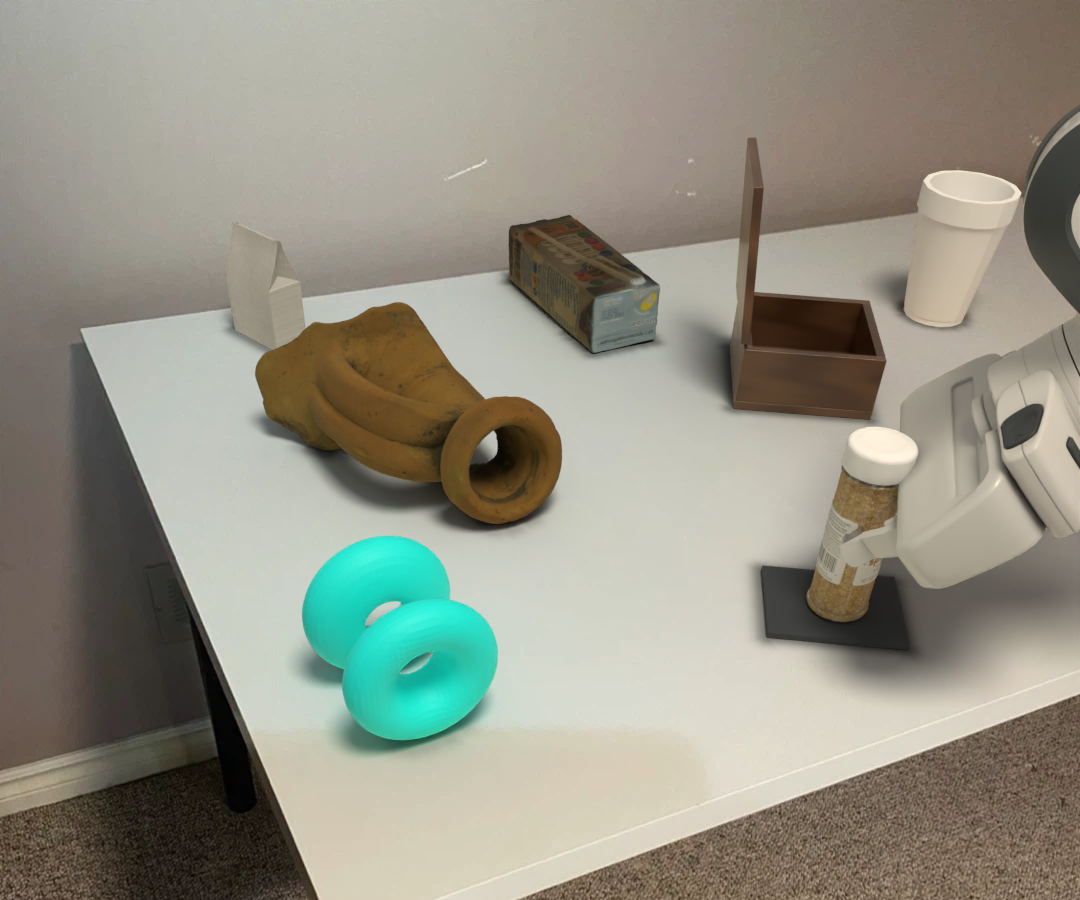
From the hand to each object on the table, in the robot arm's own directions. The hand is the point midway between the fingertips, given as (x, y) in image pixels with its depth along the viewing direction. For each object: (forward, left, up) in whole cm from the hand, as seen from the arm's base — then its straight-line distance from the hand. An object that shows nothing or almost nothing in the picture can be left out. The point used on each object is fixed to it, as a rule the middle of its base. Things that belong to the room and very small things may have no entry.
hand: (847, 522), depth 74 cm
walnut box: (-1, -35, -7) cm, 36 cm away
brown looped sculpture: (+34, -14, -8) cm, 37 cm away
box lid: (+6, -35, +5) cm, 36 cm away
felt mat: (-1, 0, -7) cm, 8 cm away
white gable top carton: (+51, -36, -8) cm, 63 cm away
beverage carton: (+21, -47, -8) cm, 52 cm away
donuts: (+29, +13, -8) cm, 33 cm away
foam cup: (-17, -53, -8) cm, 56 cm away
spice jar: (-1, 0, -7) cm, 7 cm away
